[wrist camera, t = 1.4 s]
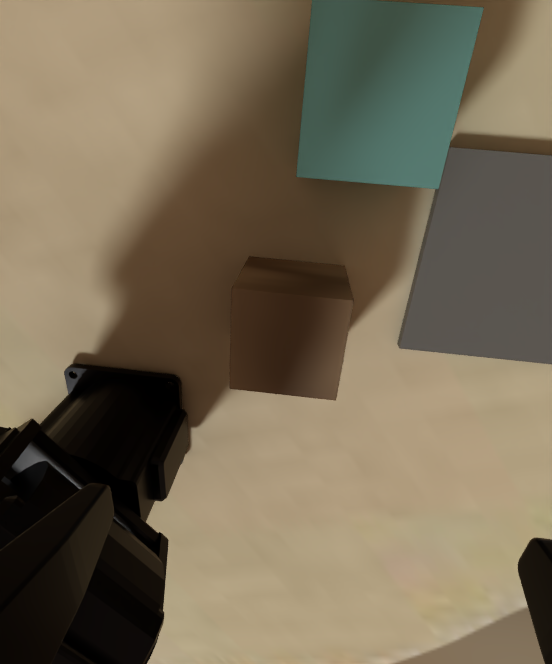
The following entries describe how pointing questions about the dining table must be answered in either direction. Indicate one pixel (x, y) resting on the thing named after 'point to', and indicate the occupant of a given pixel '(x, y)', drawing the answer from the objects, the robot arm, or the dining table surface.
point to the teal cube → (383, 90)
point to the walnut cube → (289, 327)
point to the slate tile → (486, 260)
